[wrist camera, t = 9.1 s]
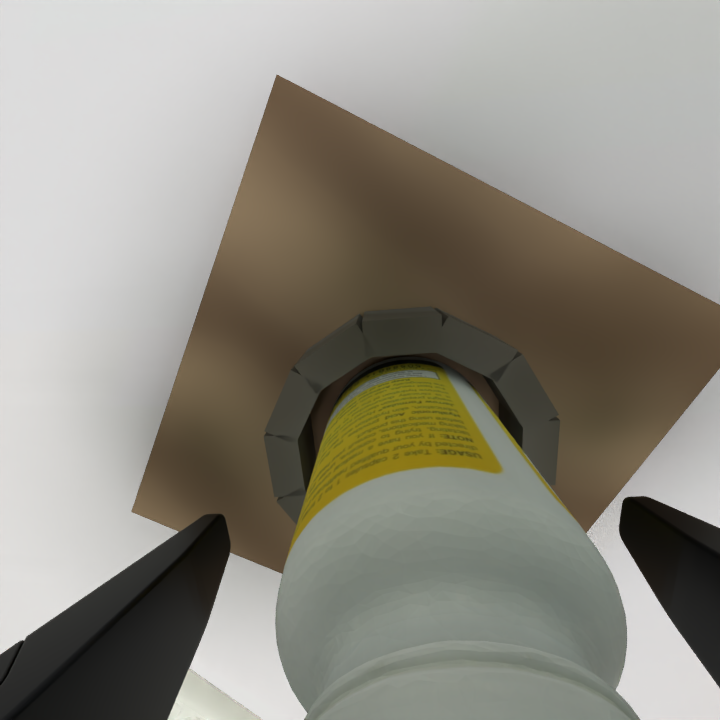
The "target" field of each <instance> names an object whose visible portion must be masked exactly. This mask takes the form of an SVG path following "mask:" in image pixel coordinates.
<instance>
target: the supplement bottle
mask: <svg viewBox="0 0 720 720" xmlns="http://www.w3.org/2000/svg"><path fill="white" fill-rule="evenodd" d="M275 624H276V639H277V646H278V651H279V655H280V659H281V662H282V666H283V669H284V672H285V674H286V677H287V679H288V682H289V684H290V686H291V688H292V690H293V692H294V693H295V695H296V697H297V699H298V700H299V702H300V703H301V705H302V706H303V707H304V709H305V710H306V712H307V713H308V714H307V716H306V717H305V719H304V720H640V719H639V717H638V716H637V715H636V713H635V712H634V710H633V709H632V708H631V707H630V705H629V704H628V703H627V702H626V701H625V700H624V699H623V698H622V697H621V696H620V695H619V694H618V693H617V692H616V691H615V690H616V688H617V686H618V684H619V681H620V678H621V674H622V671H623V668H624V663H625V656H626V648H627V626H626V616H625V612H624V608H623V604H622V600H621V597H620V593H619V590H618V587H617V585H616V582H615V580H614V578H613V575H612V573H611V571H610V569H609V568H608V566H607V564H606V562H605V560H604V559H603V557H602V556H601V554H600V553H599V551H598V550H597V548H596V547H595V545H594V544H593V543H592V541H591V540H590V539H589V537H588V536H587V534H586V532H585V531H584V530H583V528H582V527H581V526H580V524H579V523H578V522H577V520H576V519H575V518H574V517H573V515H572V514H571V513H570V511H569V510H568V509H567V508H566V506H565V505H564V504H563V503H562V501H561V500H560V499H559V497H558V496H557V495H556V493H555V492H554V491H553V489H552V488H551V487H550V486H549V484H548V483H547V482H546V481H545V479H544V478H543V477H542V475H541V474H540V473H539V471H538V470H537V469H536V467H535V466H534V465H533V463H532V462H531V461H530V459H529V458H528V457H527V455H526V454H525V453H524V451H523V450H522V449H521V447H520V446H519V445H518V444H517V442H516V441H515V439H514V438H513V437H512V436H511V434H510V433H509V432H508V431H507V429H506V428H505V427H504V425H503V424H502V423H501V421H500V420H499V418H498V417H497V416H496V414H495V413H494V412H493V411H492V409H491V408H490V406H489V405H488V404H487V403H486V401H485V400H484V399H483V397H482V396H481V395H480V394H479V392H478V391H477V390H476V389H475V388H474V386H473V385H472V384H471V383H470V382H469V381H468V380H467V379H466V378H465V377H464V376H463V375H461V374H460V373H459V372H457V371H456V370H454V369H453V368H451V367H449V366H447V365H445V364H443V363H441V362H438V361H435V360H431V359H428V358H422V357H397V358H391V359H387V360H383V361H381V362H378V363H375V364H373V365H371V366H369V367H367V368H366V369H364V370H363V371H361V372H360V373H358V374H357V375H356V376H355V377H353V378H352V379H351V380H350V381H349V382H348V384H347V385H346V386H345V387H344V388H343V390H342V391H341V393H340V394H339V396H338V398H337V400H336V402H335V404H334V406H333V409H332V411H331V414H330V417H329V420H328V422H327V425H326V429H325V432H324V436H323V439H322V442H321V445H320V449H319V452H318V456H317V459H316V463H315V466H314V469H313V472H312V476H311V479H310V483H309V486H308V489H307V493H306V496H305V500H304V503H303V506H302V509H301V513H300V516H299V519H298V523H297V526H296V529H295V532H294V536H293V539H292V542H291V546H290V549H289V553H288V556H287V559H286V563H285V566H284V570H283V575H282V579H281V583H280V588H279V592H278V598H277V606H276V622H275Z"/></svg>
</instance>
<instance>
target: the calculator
mask: <svg viewBox="0 0 720 720" xmlns="http://www.w3.org/2000/svg"><path fill="white" fill-rule="evenodd" d="M168 720H262V719H261V718H260V717H258V716H257V715H255V714H254V713H252V712H251V711H249V710H248V709H247V708H245V707H244V706H242V705H241V704H239V703H238V702H237V701H235V700H234V699H232V698H231V697H229V696H228V695H226V694H225V693H224V692H222V691H221V690H219V689H218V688H216V687H215V686H214V685H212V684H211V683H209V682H208V681H206V680H205V679H203V678H202V677H201V676H199V675H198V674H196V673H195V672H193V671H192V670H191V669H188V672H187V674H186V677H185V679H184V681H183V684H182V686H181V689H180V691H179V693H178V696H177V698H176V701H175V703H174V705H173V708H172V710H171V713H170V715H169V717H168Z"/></svg>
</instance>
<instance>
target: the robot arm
mask: <svg viewBox="0 0 720 720" xmlns="http://www.w3.org/2000/svg"><path fill="white" fill-rule="evenodd" d="M619 532H620V536H621V539H622V541H623V543H624V544H625V546H626V548H627V549H628V551H629V553H630V554H631V556H632V558H633V559H634V561H635V562H636V564H637V566H638V567H639V569H640V571H641V572H642V574H643V576H644V577H645V579H646V581H647V582H648V584H649V586H650V587H651V589H652V591H653V592H654V594H655V596H656V597H657V599H658V601H659V602H660V604H661V605H662V607H663V608H664V610H665V612H666V613H667V615H668V616H669V618H670V619H671V621H672V622H673V624H674V625H675V626H676V628H677V629H678V631H679V632H680V634H681V635H682V636H683V638H684V639H685V640H686V642H687V643H688V645H689V646H690V647H691V649H692V650H693V652H694V653H695V654H696V656H697V657H698V659H699V660H700V661H701V663H702V664H703V665H704V667H705V668H706V670H707V671H708V672H709V674H710V675H711V677H712V678H713V679H714V681H715V682H716V684H717V685H718V686H719V688H720V528H718V527H716V526H713V525H711V524H709V523H707V522H704V521H702V520H700V519H697V518H695V517H693V516H691V515H688V514H686V513H684V512H681V511H679V510H677V509H674V508H672V507H670V506H668V505H665V504H663V503H661V502H658V501H656V500H654V499H651V498H649V497H645V496H639V497H627V498H625V499H624V500H623V503H622V509H621V517H620V524H619ZM230 549H231V541H230V536H229V532H228V528H227V523H226V519H225V516H224V515H223V514H221V513H218V514H205V515H203V516H202V517H200V518H199V519H198V520H196V521H195V522H193V523H192V524H190V525H189V526H187V527H186V528H184V529H183V530H181V531H180V532H179V533H177V534H176V535H174V536H173V537H171V538H170V539H168V540H167V541H165V542H164V543H163V544H161V545H160V546H158V547H157V548H155V549H154V550H152V551H151V552H149V553H148V554H146V555H145V556H144V557H142V558H141V559H139V560H138V561H136V562H135V563H133V564H132V565H130V566H129V567H127V568H126V569H125V570H123V571H122V572H120V573H119V574H117V575H116V576H114V577H113V578H111V579H110V580H109V581H107V582H106V583H104V584H103V585H101V586H100V587H98V588H97V589H95V590H94V591H92V592H91V593H90V594H88V595H87V596H85V597H84V598H82V599H81V600H79V601H78V602H76V603H75V604H73V605H72V606H71V607H69V608H68V609H66V610H65V611H63V612H62V613H60V614H59V615H57V616H56V617H55V618H53V619H52V620H50V621H49V622H47V623H46V624H44V625H43V626H41V627H40V628H38V629H37V630H36V631H34V632H33V633H31V634H30V635H28V636H27V637H26V639H25V641H23V640H22V641H19V642H18V643H16V644H15V645H14V646H12V647H11V648H9V649H8V650H6V651H5V652H3V653H2V654H1V655H0V720H168V717H169V715H170V713H171V710H172V708H173V705H174V703H175V701H176V698H177V696H178V693H179V691H180V689H181V686H182V684H183V681H184V679H185V677H186V674H187V672H188V669H189V667H190V665H191V662H192V660H193V657H194V655H195V653H196V650H197V648H198V645H199V643H200V641H201V638H202V636H203V633H204V631H205V628H206V626H207V623H208V620H209V617H210V614H211V611H212V608H213V605H214V602H215V598H216V595H217V592H218V589H219V586H220V583H221V579H222V576H223V573H224V570H225V567H226V564H227V560H228V557H229V554H230Z"/></svg>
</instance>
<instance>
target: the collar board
mask: <svg viewBox="0 0 720 720" xmlns="http://www.w3.org/2000/svg"><path fill="white" fill-rule="evenodd" d="M397 357H422V358H428V359H431V360H435V361H438V362H441V363H443V364H445V365H447V366H449V367H451V368H453V369H454V370H456V371H457V372H459V373H460V374H461V375H463V376H464V377H465V378H466V379H467V380H468V381H469V382H470V383H471V384H472V385H473V386H474V388H475V389H476V390H477V391H478V392H479V394H480V395H481V396H482V397H483V399H484V400H485V401H486V403H487V404H488V405H489V406H490V408H491V409H492V411H493V412H494V413H495V414H496V416H497V417H498V418H499V420H500V421H501V423H502V424H503V425H504V427H505V428H506V429H507V431H508V432H509V433H510V434H511V436H512V437H513V438H514V439H515V441H516V442H517V444H518V445H519V446H520V447H521V449H522V450H523V451H524V453H525V454H526V455H527V457H528V458H529V459H530V461H531V462H532V463H533V465H534V466H535V467H536V469H537V470H538V471H539V473H540V474H541V475H542V477H543V478H544V479H545V481H546V482H547V483H548V484H549V486H550V487H551V488H552V489H553V491H554V492H555V493H556V495H557V496H558V497H559V499H560V500H561V501H562V503H563V504H564V505H565V506H566V508H567V509H568V510H569V511H570V513H571V514H572V515H573V517H574V518H575V519H576V520H577V522H578V523H579V524H580V526H581V527H582V528H583V530H584V531H585V532H587V531H588V530H589V529H590V528H591V526H592V525H593V524H594V523H595V521H596V520H597V519H598V518H599V516H600V515H601V514H602V513H603V511H604V510H605V509H606V508H607V507H608V505H609V504H610V503H611V502H612V500H613V499H614V498H615V497H616V495H617V494H618V493H619V492H620V490H621V489H622V488H623V487H624V486H625V484H626V483H627V482H628V481H629V479H630V478H631V477H632V476H633V474H634V473H635V472H636V471H637V469H638V468H639V467H640V466H641V465H642V463H643V462H644V461H645V460H646V458H647V457H648V456H649V455H650V453H651V452H652V451H653V450H654V448H655V447H656V446H657V445H658V444H659V442H660V441H661V440H662V439H663V437H664V436H665V435H666V434H667V432H668V431H669V430H670V429H671V427H672V426H673V425H674V424H675V423H676V421H677V420H678V419H679V418H680V416H681V415H682V414H683V413H684V411H685V410H686V409H687V408H688V407H689V405H690V404H691V403H692V402H693V400H694V399H695V398H696V397H697V395H698V394H699V393H700V392H701V390H702V389H703V388H704V387H705V386H706V384H707V383H708V382H709V381H710V379H711V378H712V377H713V376H714V374H715V373H716V372H717V371H718V369H719V368H720V305H719V304H717V303H715V302H713V301H711V300H709V299H707V298H705V297H703V296H701V295H699V294H698V293H696V292H694V291H692V290H690V289H688V288H686V287H684V286H682V285H680V284H678V283H676V282H674V281H673V280H671V279H669V278H667V277H665V276H663V275H661V274H659V273H657V272H655V271H653V270H651V269H650V268H648V267H646V266H644V265H642V264H640V263H638V262H636V261H634V260H632V259H630V258H628V257H626V256H625V255H623V254H621V253H619V252H617V251H615V250H613V249H611V248H609V247H607V246H605V245H603V244H601V243H600V242H598V241H596V240H594V239H592V238H590V237H588V236H586V235H584V234H582V233H580V232H578V231H576V230H575V229H573V228H571V227H569V226H567V225H565V224H563V223H561V222H559V221H557V220H555V219H553V218H551V217H550V216H548V215H546V214H544V213H542V212H540V211H538V210H536V209H534V208H532V207H530V206H528V205H526V204H525V203H523V202H521V201H519V200H517V199H515V198H513V197H511V196H509V195H507V194H505V193H503V192H502V191H500V190H498V189H496V188H494V187H492V186H490V185H488V184H486V183H484V182H482V181H480V180H478V179H477V178H475V177H473V176H471V175H469V174H467V173H465V172H463V171H461V170H459V169H457V168H455V167H453V166H452V165H450V164H448V163H446V162H444V161H442V160H440V159H438V158H436V157H434V156H432V155H430V154H428V153H427V152H425V151H423V150H421V149H419V148H417V147H415V146H413V145H411V144H409V143H407V142H405V141H403V140H402V139H400V138H398V137H396V136H394V135H392V134H390V133H388V132H386V131H384V130H382V129H380V128H378V127H377V126H375V125H373V124H371V123H369V122H367V121H365V120H363V119H361V118H359V117H357V116H355V115H354V114H352V113H350V112H348V111H346V110H344V109H342V108H340V107H338V106H336V105H334V104H332V103H330V102H329V101H327V100H325V99H323V98H321V97H319V96H317V95H315V94H313V93H311V92H309V91H307V90H305V89H304V88H302V87H300V86H298V85H296V84H294V83H292V82H290V81H288V80H286V79H284V78H282V77H280V76H279V75H276V78H275V81H274V84H273V87H272V90H271V93H270V96H269V99H268V102H267V105H266V109H265V112H264V115H263V118H262V121H261V124H260V127H259V130H258V133H257V136H256V139H255V142H254V145H253V148H252V151H251V154H250V157H249V160H248V163H247V166H246V169H245V172H244V175H243V178H242V181H241V184H240V187H239V190H238V193H237V196H236V199H235V202H234V205H233V208H232V211H231V214H230V217H229V220H228V223H227V226H226V229H225V232H224V235H223V238H222V241H221V244H220V247H219V250H218V253H217V256H216V259H215V262H214V265H213V268H212V271H211V274H210V277H209V280H208V283H207V286H206V289H205V292H204V295H203V298H202V301H201V304H200V307H199V310H198V313H197V316H196V319H195V322H194V325H193V328H192V331H191V334H190V337H189V340H188V343H187V346H186V349H185V352H184V355H183V358H182V361H181V364H180V367H179V370H178V373H177V376H176V379H175V382H174V385H173V388H172V391H171V394H170V397H169V400H168V403H167V406H166V409H165V412H164V415H163V418H162V421H161V424H160V427H159V430H158V433H157V436H156V439H155V442H154V445H153V448H152V451H151V454H150V457H149V460H148V463H147V466H146V469H145V472H144V475H143V478H142V481H141V484H140V488H139V491H138V494H137V497H136V500H135V503H134V506H133V509H132V512H133V513H135V514H138V515H140V516H143V517H145V518H148V519H150V520H153V521H155V522H157V523H160V524H162V525H165V526H167V527H170V528H172V529H174V530H177V531H179V532H180V531H181V530H183V529H184V528H186V527H187V526H189V525H190V524H192V523H193V522H195V521H196V520H198V519H199V518H200V517H202V516H203V515H205V514H218V513H221V514H223V515H224V516H225V519H226V523H227V528H228V532H229V536H230V541H231V549H230V552H231V553H233V554H235V555H238V556H240V557H243V558H245V559H248V560H250V561H253V562H255V563H257V564H260V565H262V566H265V567H267V568H270V569H272V570H275V571H277V572H279V573H282V574H283V570H284V566H285V563H286V559H287V556H288V553H289V549H290V546H291V542H292V539H293V536H294V532H295V529H296V526H297V523H298V519H299V516H300V513H301V509H302V506H303V503H304V500H305V496H306V493H307V489H308V486H309V483H310V479H311V476H312V472H313V469H314V466H315V463H316V459H317V456H318V452H319V449H320V445H321V442H322V439H323V436H324V432H325V429H326V425H327V422H328V420H329V417H330V414H331V411H332V409H333V406H334V404H335V402H336V400H337V398H338V396H339V394H340V393H341V391H342V390H343V388H344V387H345V386H346V385H347V384H348V382H349V381H350V380H351V379H352V378H353V377H355V376H356V375H357V374H358V373H360V372H361V371H363V370H364V369H366V368H367V367H369V366H371V365H373V364H375V363H378V362H381V361H383V360H387V359H391V358H397Z"/></svg>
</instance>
